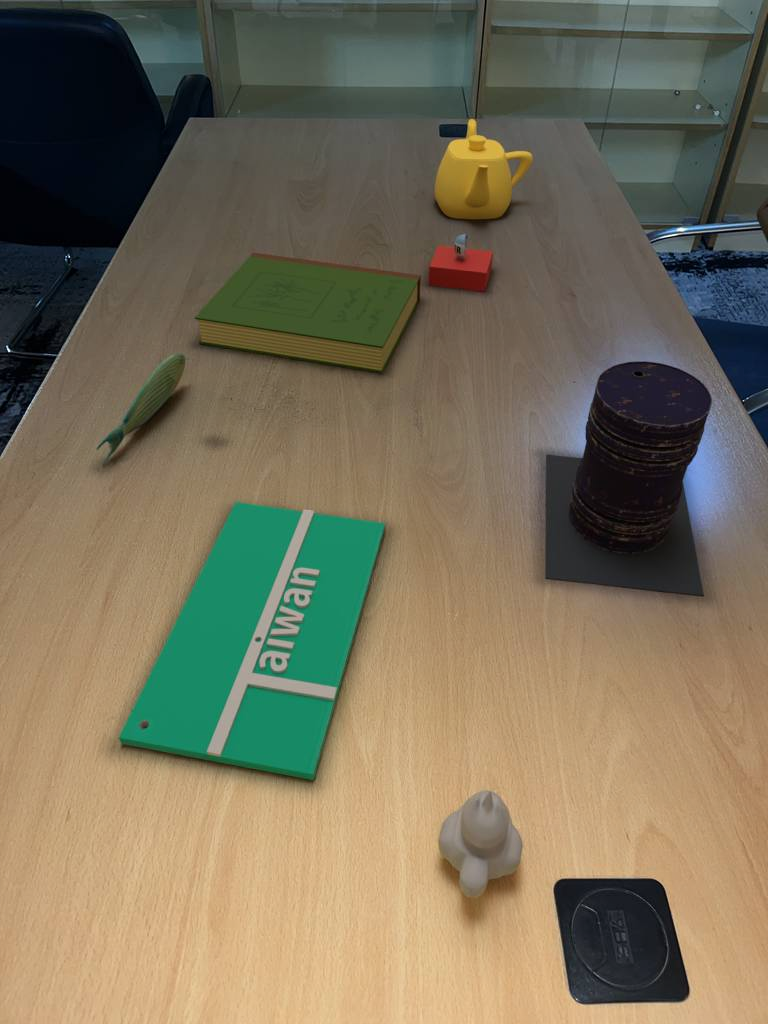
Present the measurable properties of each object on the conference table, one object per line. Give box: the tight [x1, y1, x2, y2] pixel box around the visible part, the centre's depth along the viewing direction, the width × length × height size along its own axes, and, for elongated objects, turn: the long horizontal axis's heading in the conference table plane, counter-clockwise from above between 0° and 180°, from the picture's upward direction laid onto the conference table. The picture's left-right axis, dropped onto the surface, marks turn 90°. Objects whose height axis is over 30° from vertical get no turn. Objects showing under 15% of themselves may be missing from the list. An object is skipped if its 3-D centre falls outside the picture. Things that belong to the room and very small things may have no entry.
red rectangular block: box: [428, 233, 494, 292], centre depth 114 cm, size 8×7×6 cm
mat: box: [544, 454, 705, 597], centre depth 79 cm, size 18×14×1 cm
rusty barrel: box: [569, 360, 713, 554], centre depth 74 cm, size 10×10×15 cm
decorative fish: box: [96, 352, 219, 467], centre depth 88 cm, size 7×18×10 cm
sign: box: [118, 501, 386, 781], centre depth 69 cm, size 27×1×15 cm
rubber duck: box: [437, 789, 524, 899], centre depth 52 cm, size 5×7×8 cm
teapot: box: [433, 118, 534, 220], centre depth 131 cm, size 22×16×11 cm
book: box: [194, 252, 422, 374], centre depth 105 cm, size 25×19×4 cm
